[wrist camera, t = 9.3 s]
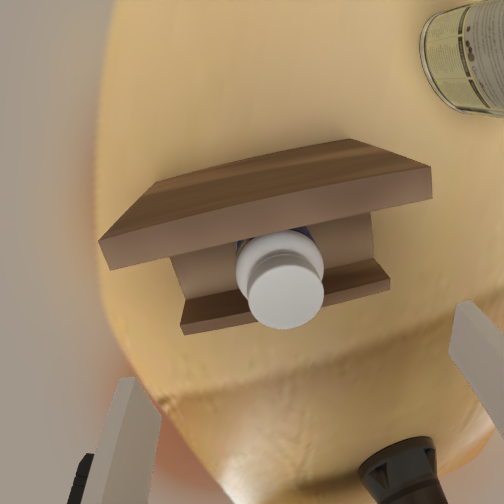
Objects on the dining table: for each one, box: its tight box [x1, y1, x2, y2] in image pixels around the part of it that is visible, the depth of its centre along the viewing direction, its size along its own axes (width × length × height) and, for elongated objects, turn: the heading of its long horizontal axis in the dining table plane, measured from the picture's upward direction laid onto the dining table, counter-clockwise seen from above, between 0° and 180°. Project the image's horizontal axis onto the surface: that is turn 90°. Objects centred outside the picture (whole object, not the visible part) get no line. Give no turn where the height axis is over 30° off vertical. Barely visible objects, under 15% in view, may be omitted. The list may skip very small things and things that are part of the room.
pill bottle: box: [236, 226, 324, 329], centre depth 21 cm, size 5×5×9 cm
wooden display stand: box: [98, 139, 432, 335], centre depth 21 cm, size 11×16×12 cm, turn 103°
